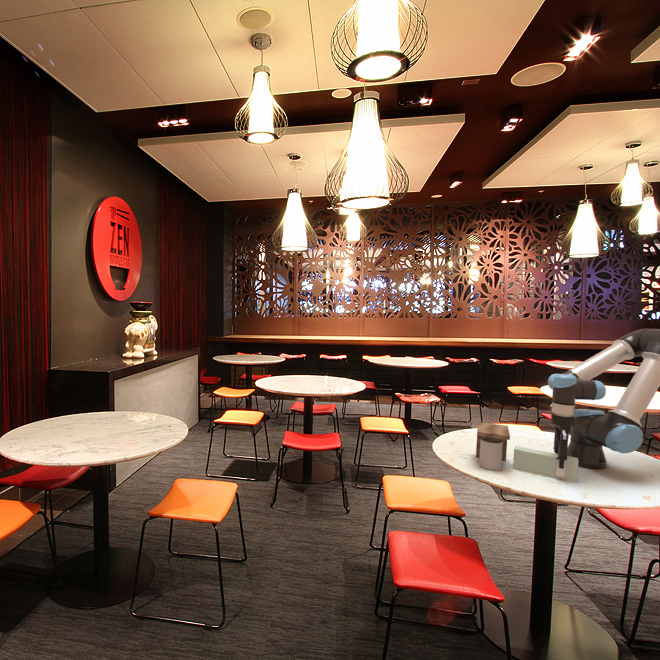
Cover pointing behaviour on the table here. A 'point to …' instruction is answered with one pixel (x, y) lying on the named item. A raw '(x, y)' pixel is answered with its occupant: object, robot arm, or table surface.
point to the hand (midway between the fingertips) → (558, 472)
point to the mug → (490, 453)
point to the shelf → (493, 436)
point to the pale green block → (544, 463)
